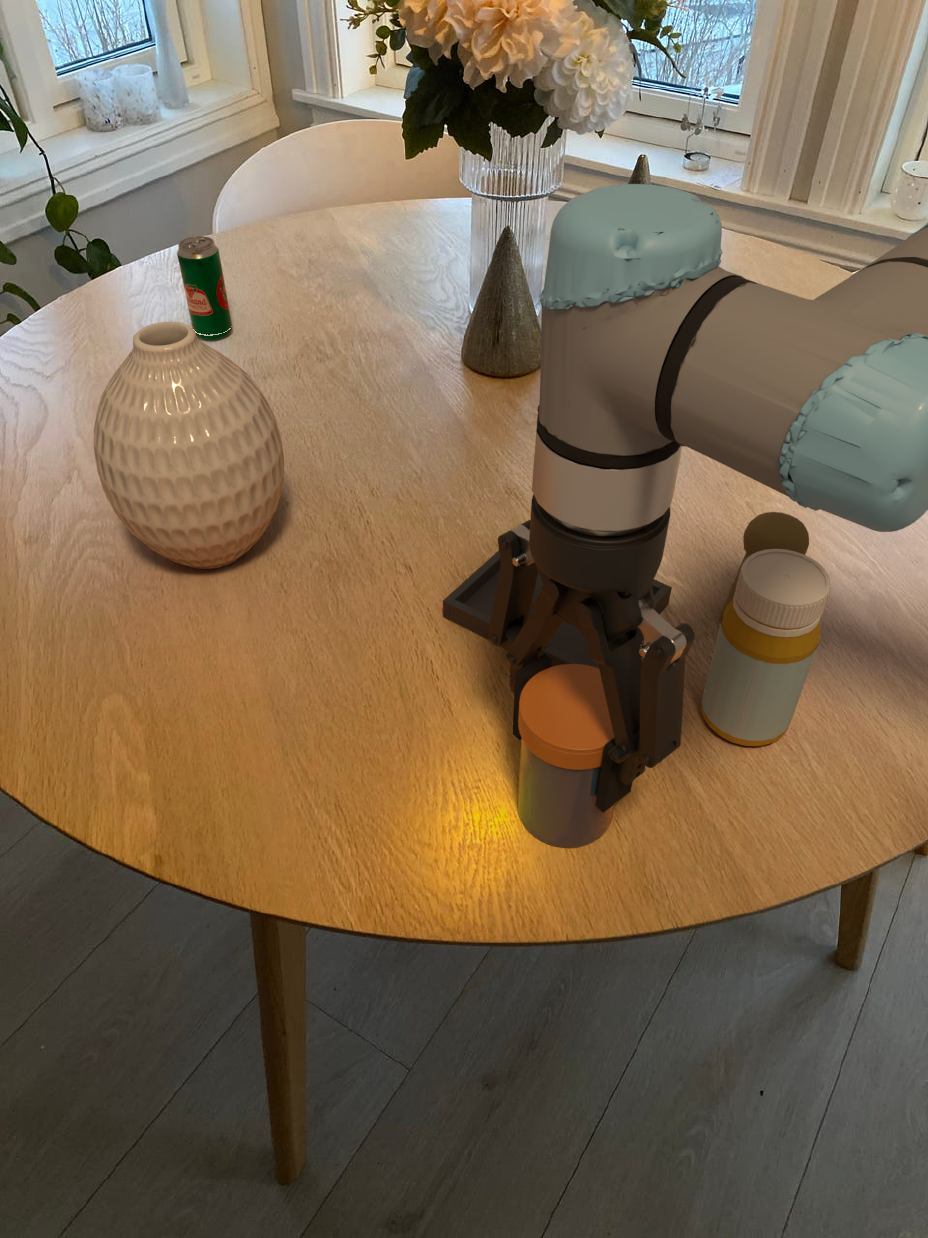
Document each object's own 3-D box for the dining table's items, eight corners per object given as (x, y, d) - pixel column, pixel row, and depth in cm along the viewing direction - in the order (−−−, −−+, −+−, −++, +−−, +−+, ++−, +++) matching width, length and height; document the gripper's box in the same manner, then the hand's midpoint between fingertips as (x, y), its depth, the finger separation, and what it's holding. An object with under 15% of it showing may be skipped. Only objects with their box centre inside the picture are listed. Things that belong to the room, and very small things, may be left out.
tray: (669, 603, 87) (672, 586, 86) (593, 692, 79) (595, 676, 78) (526, 540, 94) (527, 524, 93) (442, 616, 86) (442, 600, 85)
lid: (612, 677, 68) (616, 656, 66) (647, 760, 62) (651, 740, 61) (507, 692, 67) (508, 671, 65) (532, 778, 61) (534, 757, 60)
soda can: (186, 335, 125) (166, 244, 117) (214, 321, 128) (196, 231, 120) (213, 346, 123) (195, 254, 115) (241, 331, 126) (225, 240, 118)
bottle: (782, 761, 74) (833, 619, 64) (692, 737, 76) (727, 595, 66) (792, 698, 79) (841, 557, 69) (707, 677, 81) (742, 536, 70)
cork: (784, 652, 83) (816, 553, 75) (714, 636, 84) (738, 537, 77) (790, 607, 87) (821, 509, 79) (723, 593, 88) (747, 495, 81)
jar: (629, 799, 71) (648, 702, 64) (581, 865, 67) (594, 769, 60) (550, 755, 74) (559, 658, 67) (499, 816, 70) (502, 719, 63)
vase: (91, 577, 90) (15, 360, 75) (188, 483, 101) (139, 278, 86) (240, 620, 86) (192, 400, 70) (325, 518, 97) (299, 308, 81)
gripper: (803, 559, 48) (719, 825, 63) (522, 398, 59) (510, 658, 75) (707, 627, 44) (643, 891, 60) (427, 442, 55) (436, 705, 71)
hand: (569, 761), depth 67 cm, fingers closed on lid, 7 cm apart
